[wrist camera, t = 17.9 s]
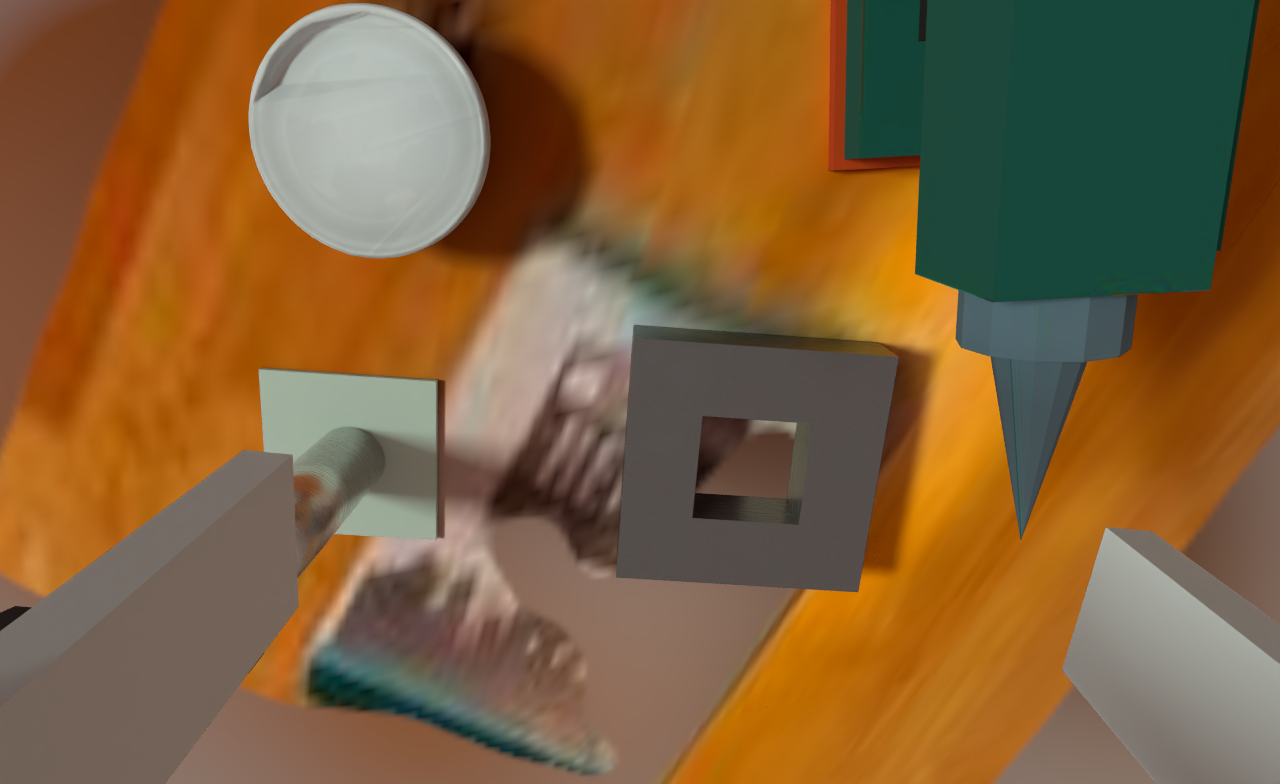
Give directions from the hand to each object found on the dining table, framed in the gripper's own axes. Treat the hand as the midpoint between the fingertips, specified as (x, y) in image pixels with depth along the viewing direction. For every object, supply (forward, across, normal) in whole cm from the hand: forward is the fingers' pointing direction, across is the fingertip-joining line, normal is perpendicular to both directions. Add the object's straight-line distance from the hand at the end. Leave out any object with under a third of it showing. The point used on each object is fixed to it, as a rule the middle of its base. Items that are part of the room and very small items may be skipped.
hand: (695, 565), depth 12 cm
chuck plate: (+31, +6, -10) cm, 33 cm away
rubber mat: (+31, -17, -12) cm, 37 cm away
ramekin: (+32, -14, +6) cm, 35 cm away
